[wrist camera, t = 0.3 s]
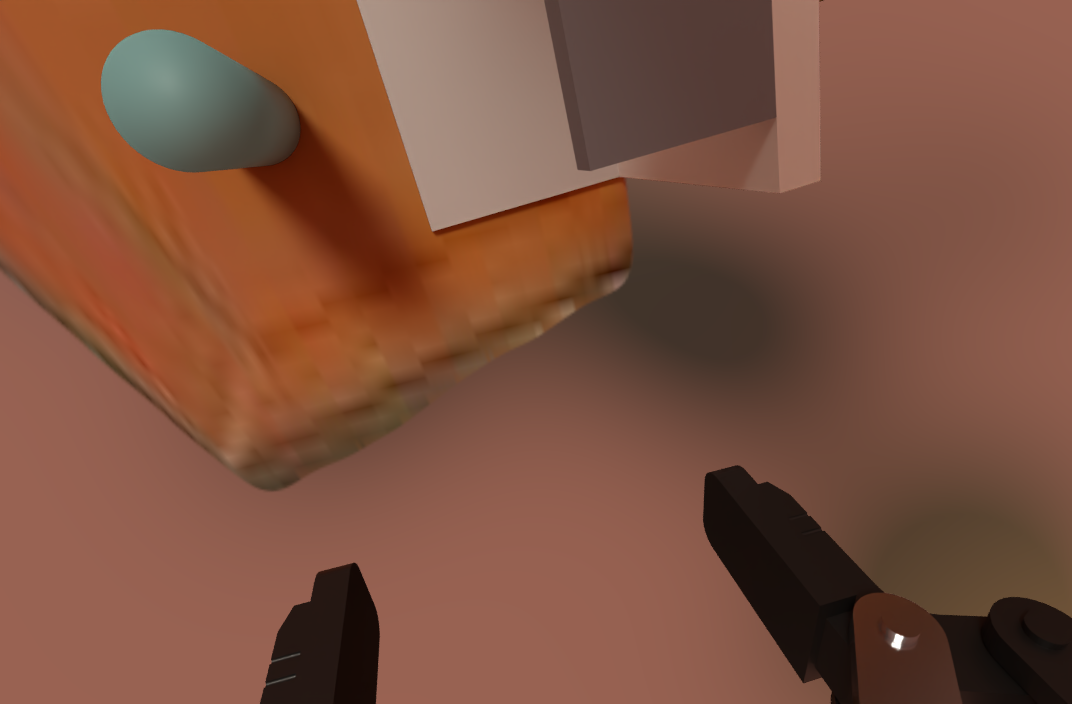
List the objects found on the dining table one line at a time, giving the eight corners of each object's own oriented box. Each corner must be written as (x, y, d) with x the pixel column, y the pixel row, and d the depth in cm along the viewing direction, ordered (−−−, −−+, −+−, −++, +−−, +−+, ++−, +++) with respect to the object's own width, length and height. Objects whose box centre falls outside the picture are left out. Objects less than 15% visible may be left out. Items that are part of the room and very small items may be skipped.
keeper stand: (327, -90, 28) (239, -403, 12) (596, -143, 30) (814, -468, 14) (431, 230, 35) (461, 292, 20) (642, 169, 38) (820, 180, 22)
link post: (191, 86, 29) (71, 46, 19) (278, 65, 30) (212, 15, 19) (232, 175, 31) (146, 186, 21) (313, 153, 32) (272, 154, 21)
